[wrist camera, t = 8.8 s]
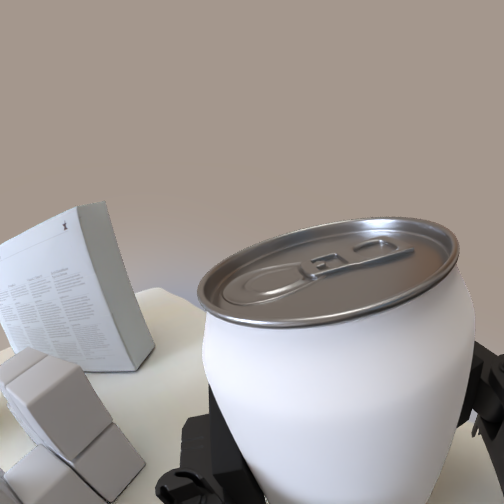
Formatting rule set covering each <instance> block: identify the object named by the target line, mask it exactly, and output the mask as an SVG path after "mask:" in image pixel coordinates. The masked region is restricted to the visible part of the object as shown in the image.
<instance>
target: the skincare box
mask: <svg viewBox="0 0 504 504" xmlns="http://www.w3.org/2000/svg"><path fill="white" fill-rule="evenodd" d="M0 323H1V325H2V327H3V329H4V331H5V333H6V335H7V338H8V340H9V343H10V345H11V347H12V349H13V351H14V353H15V355H16V354H17V353H19V352H20V351H22V350H23V349H25V348H26V347H31V348H33V349H36V350H38V351H41V352H43V353H46V354H48V355H51V356H54V357H57V358H60V359H63V360H65V361H68V362H71V363H74V364H77V365H80V367H81V368H82V370H83V371H90V372H105V371H136V370H137V369H138V367H139V366H140V364H141V363H142V362H143V361H144V360H145V358H146V357H147V356H148V354H149V353H150V352H151V350H152V349H153V348H154V346H155V344H154V342H153V339H152V337H151V335H150V332H149V330H148V328H147V325H146V323H145V320H144V318H143V315H142V313H141V310H140V307H139V305H138V302H137V300H136V297H135V294H134V292H133V289H132V286H131V284H130V281H129V278H128V275H127V272H126V269H125V266H124V263H123V260H122V257H121V254H120V250H119V247H118V244H117V241H116V237H115V234H114V231H113V227H112V224H111V220H110V217H109V214H108V210H107V205H106V201H102V202H97V203H92V204H87V205H82V206H77V207H74V208H72V209H69V210H67V211H65V212H63V213H61V214H58V215H56V216H54V217H52V218H50V219H48V220H46V221H44V222H42V223H40V224H38V225H36V226H35V227H32V228H31V229H29V230H27V231H25V232H23V233H21V234H19V235H17V236H15V237H13V238H12V239H10V240H8V241H6V242H4V243H3V244H1V245H0Z"/></svg>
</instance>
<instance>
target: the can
mask: <svg viewBox="0 0 504 504" xmlns="http://www.w3.org/2000/svg"><path fill="white" fill-rule="evenodd" d="M459 249H460V248H459V242H458V240H457V238H456V236H455V235H454V234H453V233H452V232H451V231H450V230H449V229H448V228H446V227H444V226H442V225H440V224H437V223H435V222H431V221H427V220H422V219H417V218H406V217H371V218H360V219H351V220H344V221H338V222H332V223H326V224H321V225H317V226H312V227H308V228H304V229H300V230H296V231H293V232H289V233H286V234H282V235H280V236H276V237H273V238H270V239H267V240H265V241H262V242H259V243H257V244H254V245H252V246H250V247H247V248H245V249H243V250H241V251H239V252H237V253H235V254H233V255H231V256H229V257H228V258H226V259H225V260H223V261H221V262H220V263H218V264H217V265H216V266H214V267H213V268H212V269H211V270H210V271H208V272H207V274H206V275H205V276H204V277H203V278H202V280H201V281H200V283H199V285H198V289H197V296H198V300H199V302H200V304H201V305H202V307H203V308H204V309H205V310H206V311H207V316H206V324H205V331H204V338H203V349H202V357H203V365H204V369H205V372H206V376H207V379H208V382H209V384H210V387H211V389H212V392H213V394H214V397H215V399H216V401H217V404H218V406H219V408H220V410H221V412H222V415H223V417H224V419H225V421H226V423H227V425H228V427H229V429H230V431H231V433H232V435H233V437H234V439H235V441H236V443H237V445H238V447H239V449H240V451H241V453H242V455H243V457H244V459H245V461H246V463H247V464H248V466H249V468H250V470H251V472H252V474H253V475H254V477H255V479H256V481H257V483H258V484H259V486H260V488H261V490H262V491H263V493H264V495H265V497H266V498H267V500H268V502H269V503H270V504H426V503H427V501H428V498H429V496H430V494H431V492H432V490H433V488H434V486H435V483H436V481H437V479H438V477H439V474H440V472H441V469H442V467H443V464H444V462H445V459H446V456H447V454H448V451H449V448H450V445H451V442H452V439H453V436H454V433H455V430H456V427H457V423H458V420H459V417H460V413H461V409H462V405H463V401H464V397H465V393H466V389H467V384H468V379H469V374H470V369H471V363H472V357H473V349H474V340H475V310H474V306H473V302H472V299H471V296H470V293H469V291H468V289H467V286H466V284H465V282H464V280H463V278H462V276H461V274H460V271H459V269H458V267H457V264H456V262H457V260H458V256H459Z"/></svg>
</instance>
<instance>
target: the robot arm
mask: <svg viewBox="0 0 504 504" xmlns="http://www.w3.org/2000/svg"><path fill="white" fill-rule="evenodd" d="M472 409H474V411H476V412H477V413H478V415H477V418H476V421H475V423H474V426H473V429H472V432H471V433H472V437H475V435H476V432H477V429H478V428H479V433H478V435H480V434H481V435H482V438H483V440H484V443H485V445H486V448H487V450H488V453H489V455H490V458H491V460H492V463H493V466H494V469H495V471H496V474H497V477H498V480H499V483H500V486H501V489H502V492H503V495H504V354H502V355H499V356H497V355H495V354H494V353H492V352H491V351H489V350H488V349H487V348H485V347H484V346H482V345H480V344H479V343H478V342H476V341H475V340H474V349H473V357H472V363H471V369H470V374H469V379H468V384H467V389H466V393H465V397H464V401H463V405H462V409H461V413H460V417H459V420H458V423H457V427H456V428H458V427H459V426H461V425H462V424H464V423H465V422H466V421H468V420H469V417H470V414H471V411H472ZM181 440H182V442H181V456H180V468H177V469H172V470H171V471H169V472H167V473H165V474H164V475H163V476H162V477H161V478H160V479H159V480H158V482H157V484H156V487H155V492H156V496H157V497H158V498H159V499H160V500H161V501H162V502H163V503H164V504H266V501H265V497H264V493H263V491H262V490H261V488H260V486H259V484H258V483H257V481H256V479H255V477H254V475H253V474H252V472H251V470H250V468H249V466H248V464H247V463H246V461H245V459H244V457H243V455H242V453H241V451H240V449H239V447H238V445H237V443H236V441H235V439H234V437H233V435H232V433H231V431H230V429H229V427H228V425H227V423H226V421H225V419H224V417H223V415H222V412H221V410H220V408H219V406H218V404H217V401H216V399H215V397H214V394H213V392H212V389H211V387H210V384H209V414H205V415H201V416H196V417H190V418H188V419H187V421H186V423H185V425H184V426H183V428H182V439H181Z"/></svg>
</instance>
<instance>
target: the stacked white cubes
mask: <svg viewBox="0 0 504 504" xmlns="http://www.w3.org/2000/svg"><path fill="white" fill-rule="evenodd" d="M0 390H1V392H2V393H3V395H4V396H5V398H6V399H7V401H8V403H7V407H8V408H9V410H10V411H11V413H12V414H13V415H14V417H15V418H16V420H17V421H18V422H19V424H20V425H21V426H22V428H23V429H24V430H25V432H26V433H27V434H28V435H29V437H30V438H31V439H32V440H33V441H34V442H35V443H36V444H37V446H36V447H35V448H34V449H33V450H31V451H30V452H29V453H28V454H27V455H26V456H24V457H23V458H22V459H21V460H20V461H19V462H18V463H16V464H15V465H14V466H13V467H12V468H11V469H9V470H8V471H7V472H6V473H5V472H4V471H3V470H2V469H1V468H0V504H107V503H106V502H105V501H104V500H103V499H102V498H101V497H103V498H104V499H106V500H107V501H109V502H113V501H114V499H115V498H116V497H117V496H118V495H119V494H120V493H121V492H122V490H123V489H124V488H125V487H126V486H127V485H128V484H129V482H130V481H131V480H132V479H133V478H134V477H135V476H136V474H137V473H138V472H139V471H140V470H141V469H142V467H143V466H144V465H145V462H144V460H143V459H142V458H141V457H140V455H139V454H138V453H137V451H136V450H135V449H134V448H133V446H132V445H131V444H130V442H129V441H128V440H127V438H126V437H125V436H124V434H123V433H122V431H121V430H120V429H119V427H118V426H117V425H116V424H115V423H113V422H112V421H113V419H112V417H111V416H110V414H109V413H108V411H107V410H106V408H105V407H104V405H103V403H102V402H101V400H100V399H99V397H98V395H97V394H96V392H95V391H94V389H93V387H92V386H91V384H90V382H89V380H88V379H87V377H86V375H85V373H84V372H83V370H82V368H81V367H80V365H77V364H74V363H71V362H68V361H65V360H63V359H60V358H57V357H54V356H51V355H48V354H46V353H43V352H41V351H38V350H36V349H33V348H31V347H26V348H25V349H23V350H22V351H20V352H19V353H17V354H16V355H14V356H13V357H11V358H10V359H8V360H7V361H5V362H4V363H2V364H1V365H0ZM96 493H97V494H98V495H97V494H96ZM99 495H100V496H101V497H100V496H99Z"/></svg>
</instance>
